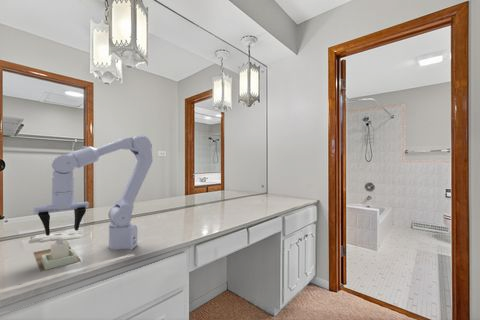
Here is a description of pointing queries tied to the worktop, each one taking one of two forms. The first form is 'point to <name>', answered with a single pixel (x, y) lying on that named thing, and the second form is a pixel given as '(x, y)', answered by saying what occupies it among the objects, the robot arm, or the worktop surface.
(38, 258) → the board
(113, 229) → the robot arm
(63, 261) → the holder
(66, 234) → the gun
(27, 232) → the worktop surface
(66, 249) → the plug
